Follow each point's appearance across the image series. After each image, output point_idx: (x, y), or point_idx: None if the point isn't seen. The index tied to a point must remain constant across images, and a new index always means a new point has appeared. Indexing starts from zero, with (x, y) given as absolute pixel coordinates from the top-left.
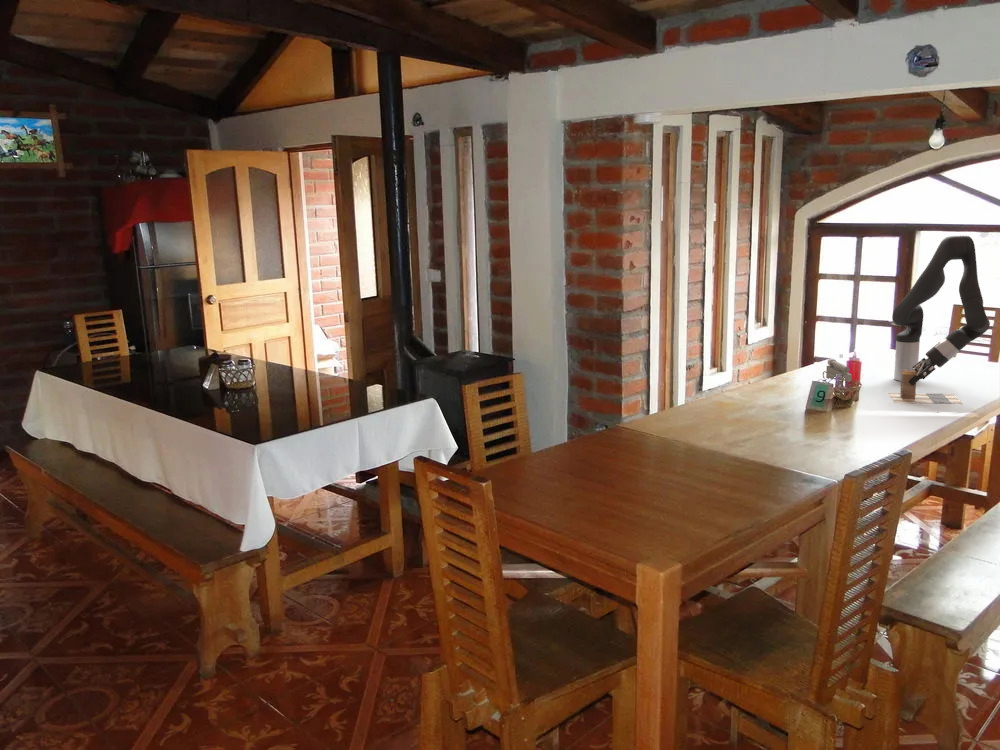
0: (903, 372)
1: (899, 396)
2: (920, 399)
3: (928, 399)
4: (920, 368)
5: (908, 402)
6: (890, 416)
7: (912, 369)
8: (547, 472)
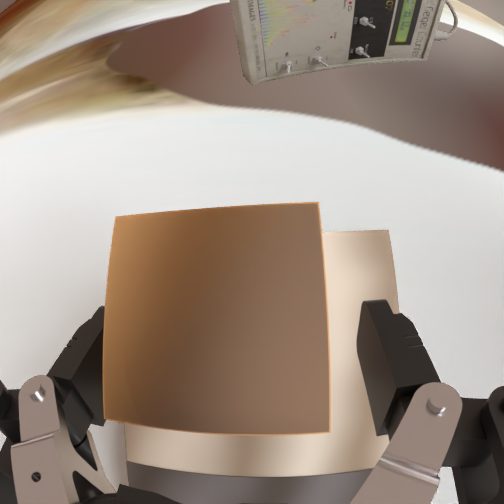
0: (131, 220)
1: None
2: None
3: (224, 462)
4: (17, 458)
5: None
6: (10, 223)
7: (422, 397)
8: (9, 9)
